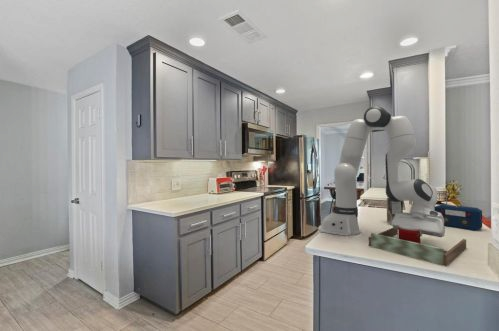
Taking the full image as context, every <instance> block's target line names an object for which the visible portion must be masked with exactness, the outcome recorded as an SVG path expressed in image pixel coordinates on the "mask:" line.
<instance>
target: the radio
mask: <svg viewBox="0 0 499 331" xmlns="http://www.w3.org/2000/svg"><path fill="white" fill-rule="evenodd" d="M445 194H446V195H445V198H446V199H445V201H446V202H445V204H443V203H441V204H439V205H435V211H436V212H439V213H441V214H442V216H443V218H444V226H445V227H446V228H447V227H448V228H454V229H455V228H456V229H461V230H466V231H468V230H469V231H473V232H475V231H478V230H481V229H482V228H483V210H482V209H480V208H478V207H472V206H464V205H461V206H460V205H453V204H448V192H445Z"/></svg>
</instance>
